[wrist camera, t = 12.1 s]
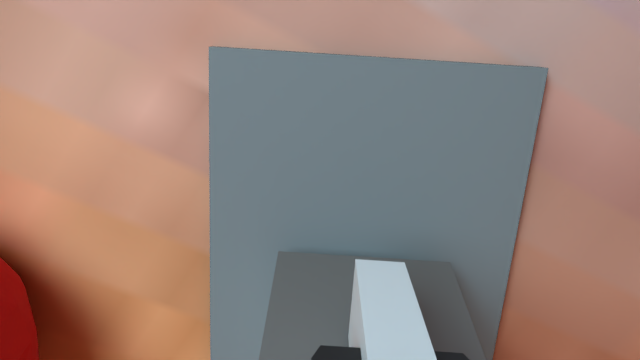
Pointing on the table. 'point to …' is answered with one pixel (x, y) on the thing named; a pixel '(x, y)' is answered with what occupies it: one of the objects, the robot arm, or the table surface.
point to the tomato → (15, 318)
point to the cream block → (335, 305)
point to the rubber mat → (363, 173)
